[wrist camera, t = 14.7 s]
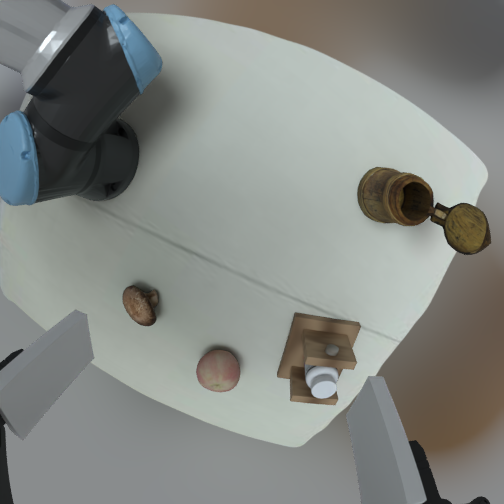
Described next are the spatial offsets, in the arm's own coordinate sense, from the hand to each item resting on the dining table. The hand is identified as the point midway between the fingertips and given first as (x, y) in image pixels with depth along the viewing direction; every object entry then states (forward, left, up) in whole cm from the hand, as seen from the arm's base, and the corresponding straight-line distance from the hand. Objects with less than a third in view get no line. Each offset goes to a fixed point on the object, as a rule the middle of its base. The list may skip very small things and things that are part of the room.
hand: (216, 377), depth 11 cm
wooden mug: (+20, +9, -33) cm, 40 cm away
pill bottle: (+14, -20, -31) cm, 40 cm away
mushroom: (-19, -17, -33) cm, 42 cm away
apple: (-3, -26, -33) cm, 42 cm away
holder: (+14, -20, -33) cm, 41 cm away
